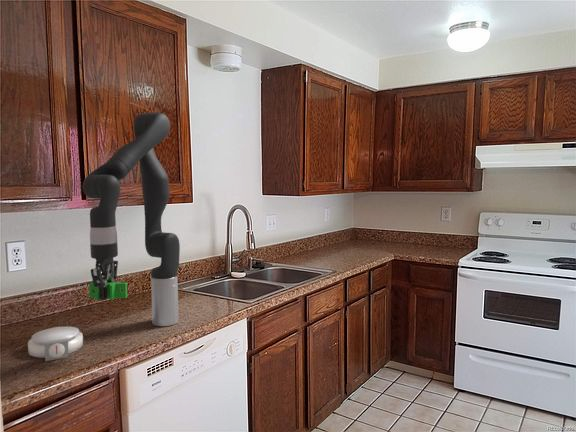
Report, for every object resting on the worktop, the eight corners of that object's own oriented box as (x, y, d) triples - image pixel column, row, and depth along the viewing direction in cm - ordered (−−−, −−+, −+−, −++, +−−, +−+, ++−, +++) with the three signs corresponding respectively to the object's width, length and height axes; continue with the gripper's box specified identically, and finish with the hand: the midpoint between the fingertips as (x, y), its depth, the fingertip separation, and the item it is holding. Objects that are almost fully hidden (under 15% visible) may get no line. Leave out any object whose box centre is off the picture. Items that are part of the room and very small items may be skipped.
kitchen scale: (29, 344, 137) (28, 328, 136) (81, 335, 144) (80, 321, 143) (27, 365, 121) (26, 348, 121) (85, 354, 128) (84, 338, 128)
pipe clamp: (85, 300, 128) (84, 285, 128) (91, 297, 132) (90, 282, 132) (122, 300, 128) (122, 285, 128) (127, 296, 132) (126, 282, 132)
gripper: (105, 245, 121) (108, 304, 123) (125, 238, 136) (127, 291, 137) (79, 245, 122) (82, 304, 123) (101, 238, 136) (104, 291, 137)
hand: (106, 297), depth 130 cm, fingers closed on pipe clamp, 3 cm apart
